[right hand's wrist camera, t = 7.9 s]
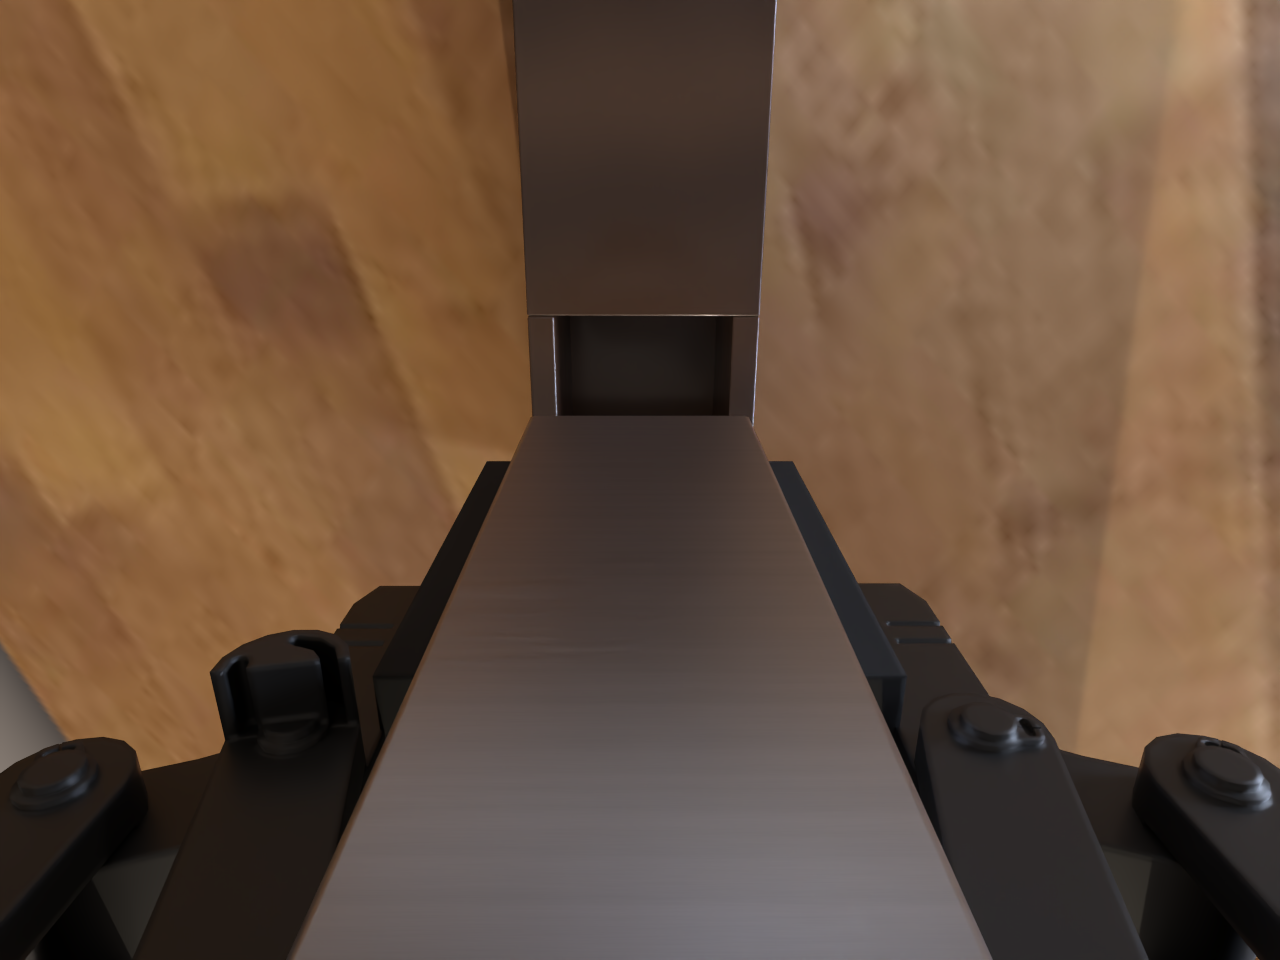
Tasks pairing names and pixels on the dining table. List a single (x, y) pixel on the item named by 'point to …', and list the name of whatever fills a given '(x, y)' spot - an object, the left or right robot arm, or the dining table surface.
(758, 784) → the peg
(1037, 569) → the dining table surface
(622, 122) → the socket block
